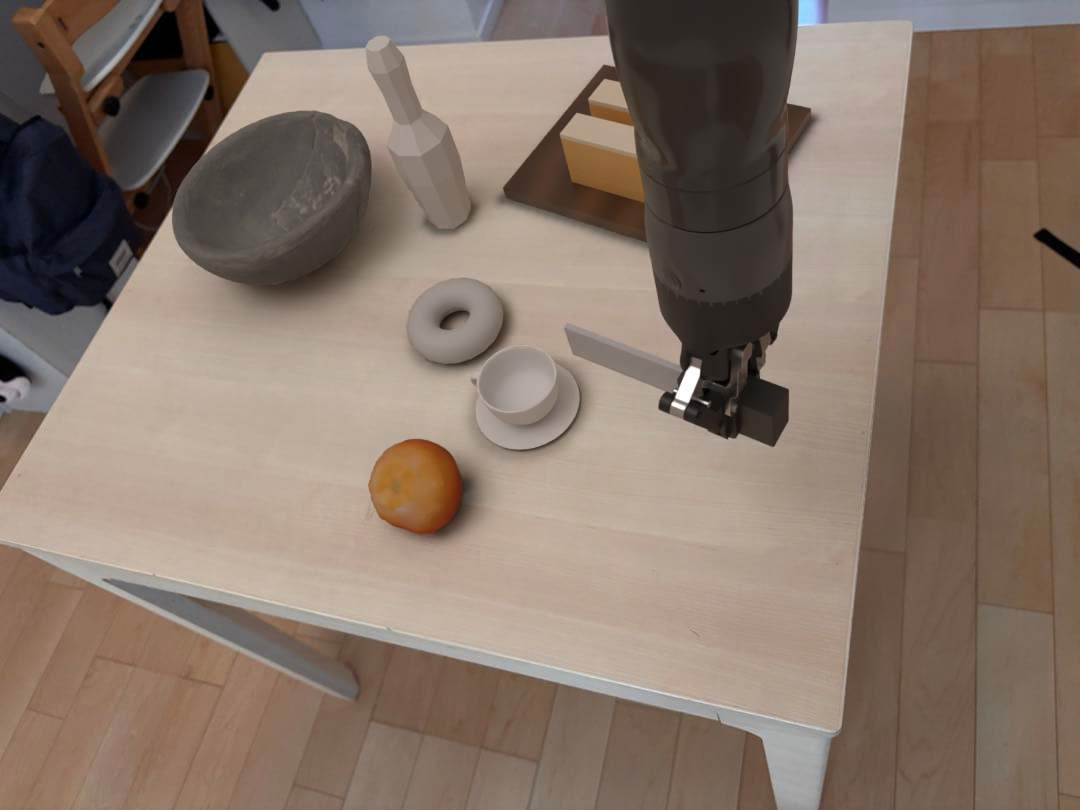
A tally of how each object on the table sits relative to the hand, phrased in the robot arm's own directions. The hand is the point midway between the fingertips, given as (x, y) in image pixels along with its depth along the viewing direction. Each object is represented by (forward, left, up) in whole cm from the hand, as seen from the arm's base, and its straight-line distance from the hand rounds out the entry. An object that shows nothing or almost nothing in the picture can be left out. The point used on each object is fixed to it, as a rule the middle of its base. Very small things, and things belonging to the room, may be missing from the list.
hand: (734, 413), depth 60 cm
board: (-1, -42, -13) cm, 44 cm away
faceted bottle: (+23, -42, -14) cm, 49 cm away
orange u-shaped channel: (+1, -40, -12) cm, 42 cm away
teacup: (+17, -14, -14) cm, 25 cm away
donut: (+23, -25, -14) cm, 36 cm away
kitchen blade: (+3, -3, 0) cm, 5 cm away
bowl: (+41, -44, -14) cm, 61 cm away
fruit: (+27, -6, -14) cm, 30 cm away
